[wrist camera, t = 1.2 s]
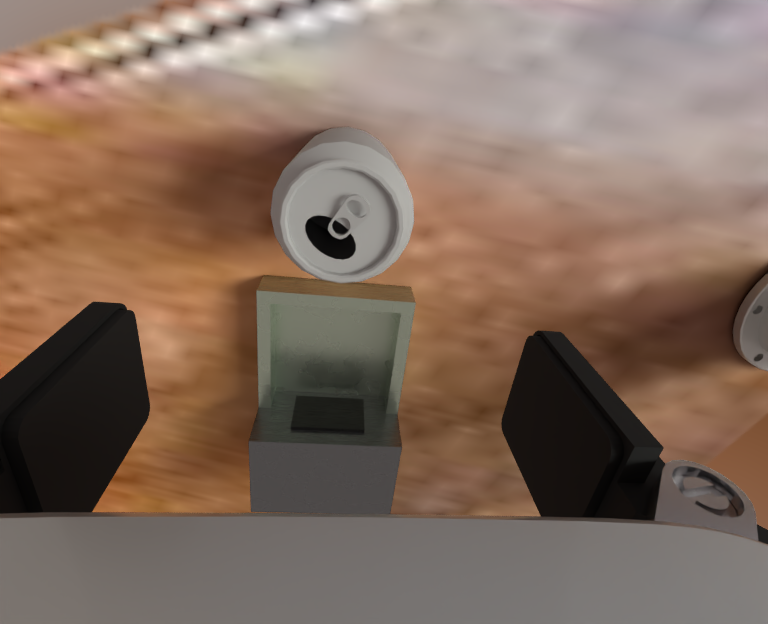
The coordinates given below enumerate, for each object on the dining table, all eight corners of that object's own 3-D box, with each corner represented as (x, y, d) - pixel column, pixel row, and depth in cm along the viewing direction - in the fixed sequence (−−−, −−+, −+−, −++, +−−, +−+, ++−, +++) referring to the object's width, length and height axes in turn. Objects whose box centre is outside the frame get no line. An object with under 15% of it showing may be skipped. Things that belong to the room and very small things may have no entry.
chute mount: (411, 287, 36) (423, 328, 30) (384, 455, 44) (389, 514, 38) (263, 275, 35) (244, 315, 28) (265, 451, 43) (251, 511, 37)
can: (274, 188, 32) (233, 237, 21) (336, 101, 29) (327, 107, 19) (354, 249, 34) (355, 321, 24) (417, 173, 32) (450, 216, 21)
